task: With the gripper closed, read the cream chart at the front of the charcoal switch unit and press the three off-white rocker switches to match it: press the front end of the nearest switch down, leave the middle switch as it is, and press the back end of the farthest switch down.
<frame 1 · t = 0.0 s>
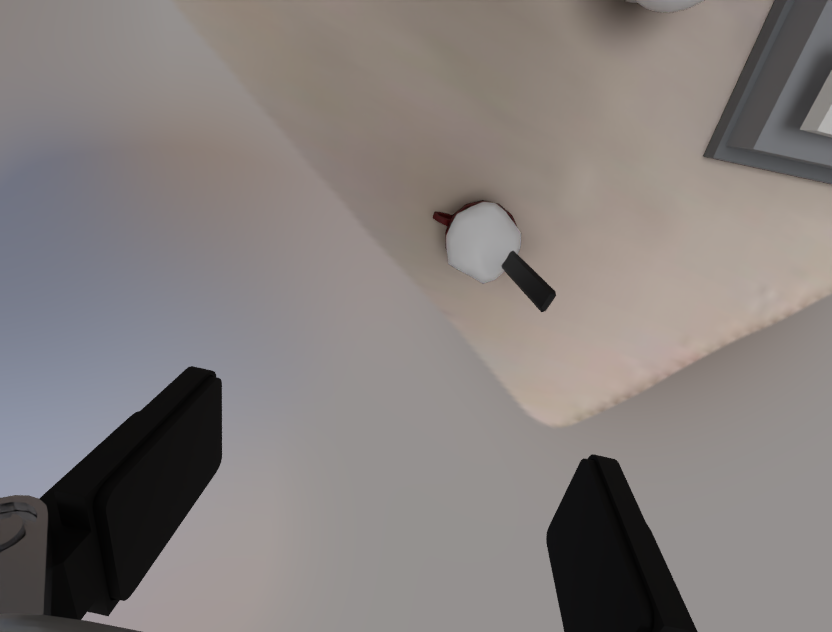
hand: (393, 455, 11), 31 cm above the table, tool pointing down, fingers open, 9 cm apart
cocoa: (481, 231, 40), on the table
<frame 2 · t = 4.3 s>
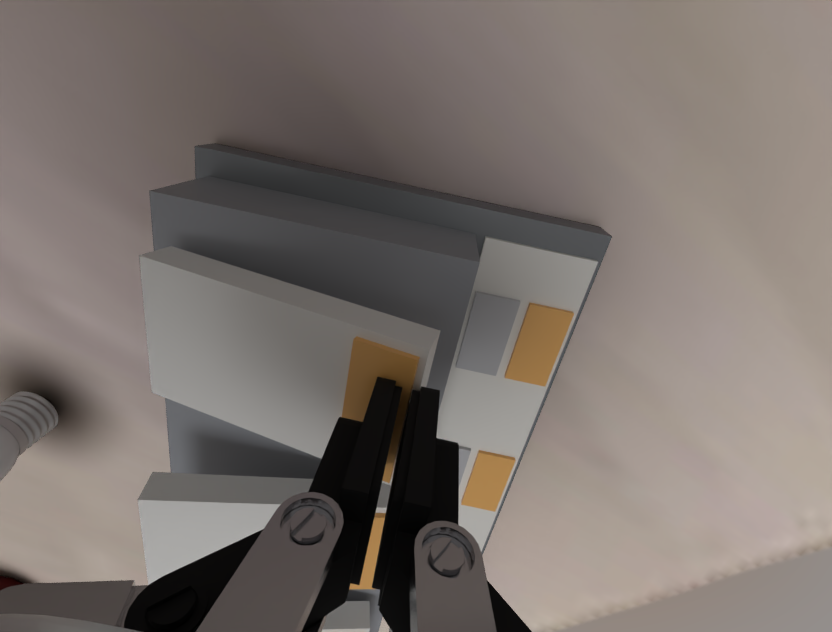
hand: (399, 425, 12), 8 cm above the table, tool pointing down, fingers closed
switch unit: (363, 430, 23), on the table
lightbulb: (47, 401, 24), on the table
switch a: (279, 366, 13), point 7 cm above the table, hinge at 11.7°, touching gripper
cocoa: (18, 590, 33), on the table
switch b: (275, 537, 17), point 7 cm above the table, hinge at -12.0°
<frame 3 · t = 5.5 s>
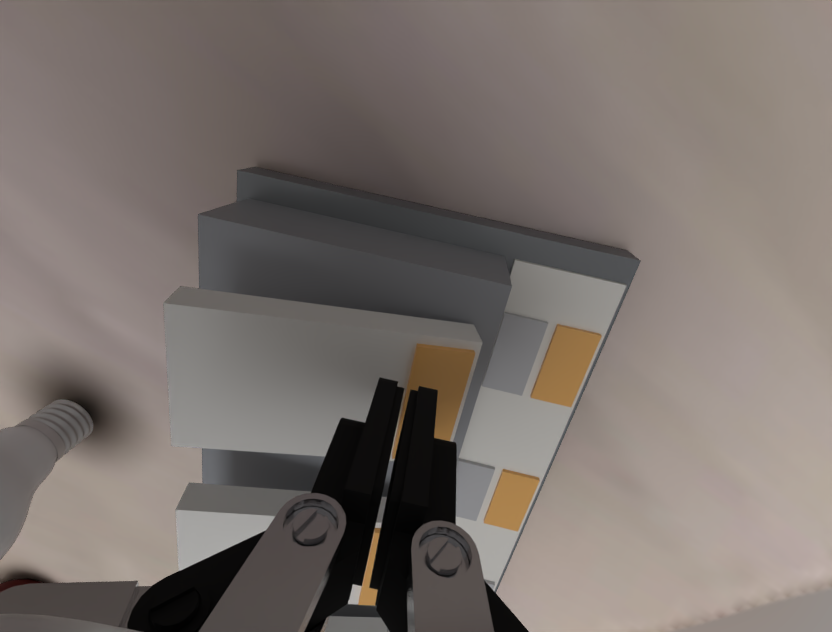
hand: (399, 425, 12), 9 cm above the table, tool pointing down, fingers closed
switch unit: (387, 445, 23), on the table
lightbulb: (83, 409, 25), on the table
switch a: (325, 385, 14), point 7 cm above the table, hinge at -13.5°
switch b: (303, 550, 17), point 7 cm above the table, hinge at -12.0°
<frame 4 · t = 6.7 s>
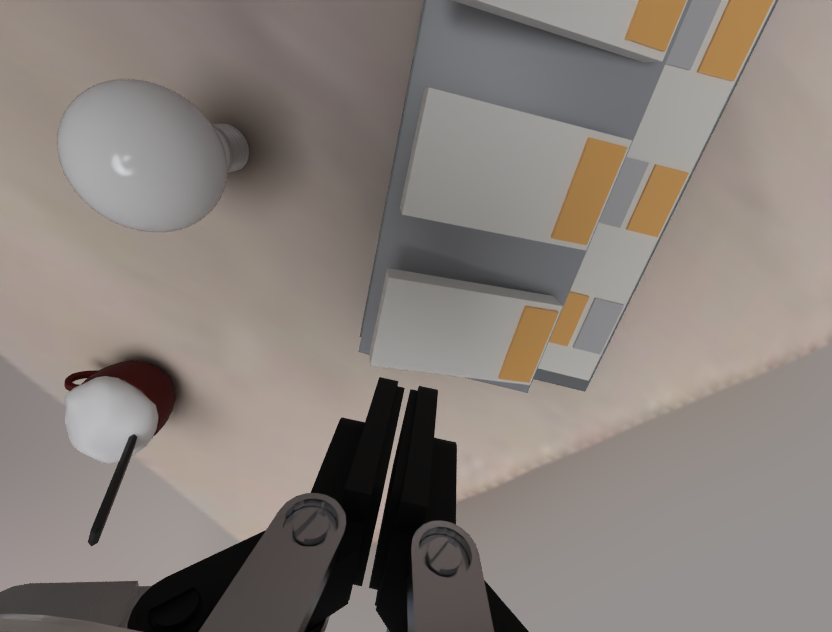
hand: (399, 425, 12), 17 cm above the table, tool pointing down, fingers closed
switch unit: (533, 168, 25), on the table
lightbulb: (234, 147, 26), on the table
cocoa: (154, 384, 35), on the table
switch b: (512, 175, 19), point 7 cm above the table, hinge at -12.0°
switch c: (463, 331, 22), point 7 cm above the table, hinge at -12.0°
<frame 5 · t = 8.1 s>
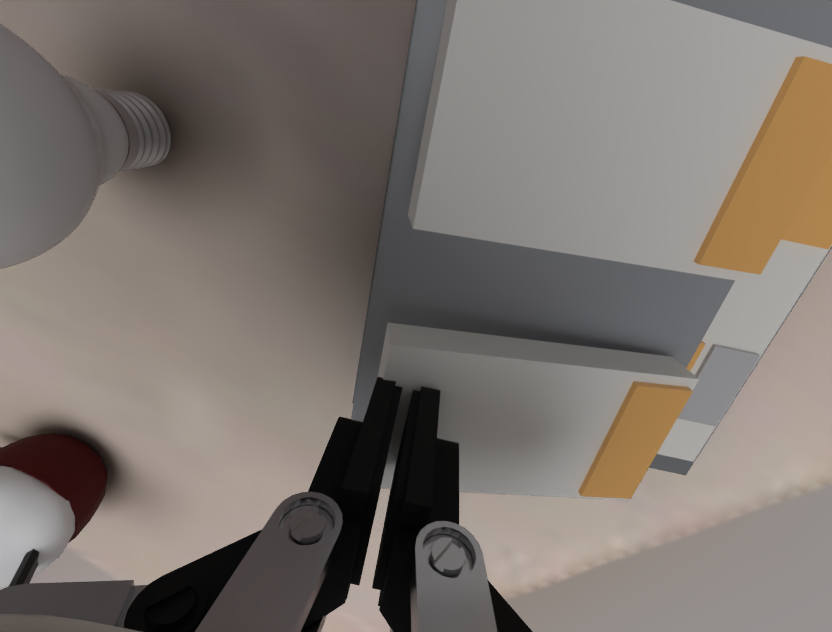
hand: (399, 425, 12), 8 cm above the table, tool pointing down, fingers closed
switch unit: (617, 145, 16), on the table
lightbulb: (151, 129, 17), on the table
cocoa: (81, 460, 26), on the table
switch b: (628, 145, 10), point 7 cm above the table, hinge at -12.0°
switch c: (521, 422, 13), point 7 cm above the table, hinge at -11.7°, touching gripper
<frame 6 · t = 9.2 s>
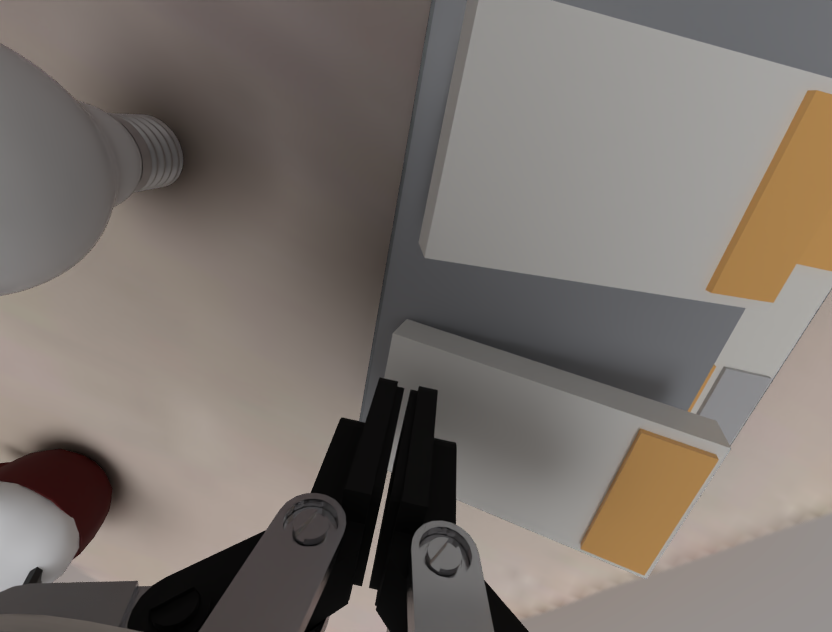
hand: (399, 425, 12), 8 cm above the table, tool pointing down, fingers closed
switch unit: (625, 168, 16), on the table
lightbulb: (164, 150, 18), on the table
cocoa: (86, 475, 26), on the table
switch b: (639, 175, 10), point 7 cm above the table, hinge at -12.0°
switch c: (521, 446, 13), point 7 cm above the table, hinge at 13.2°
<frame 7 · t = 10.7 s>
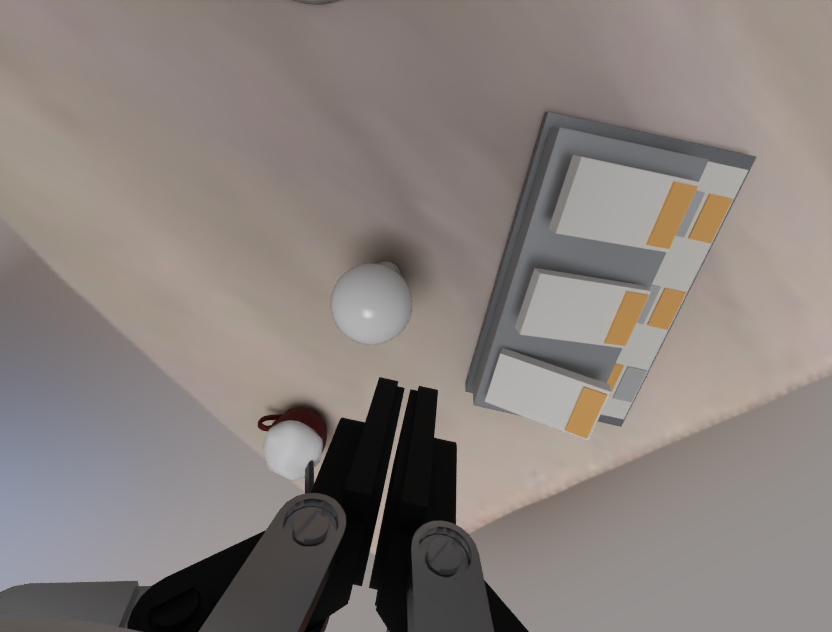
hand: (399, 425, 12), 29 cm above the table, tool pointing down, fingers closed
switch unit: (585, 285, 39), on the table
lightbulb: (388, 272, 41), on the table
switch a: (623, 206, 30), point 7 cm above the table, hinge at -14.3°
cocoa: (308, 423, 49), on the table
switch b: (582, 310, 33), point 7 cm above the table, hinge at -12.0°
switch c: (544, 394, 36), point 7 cm above the table, hinge at 15.0°
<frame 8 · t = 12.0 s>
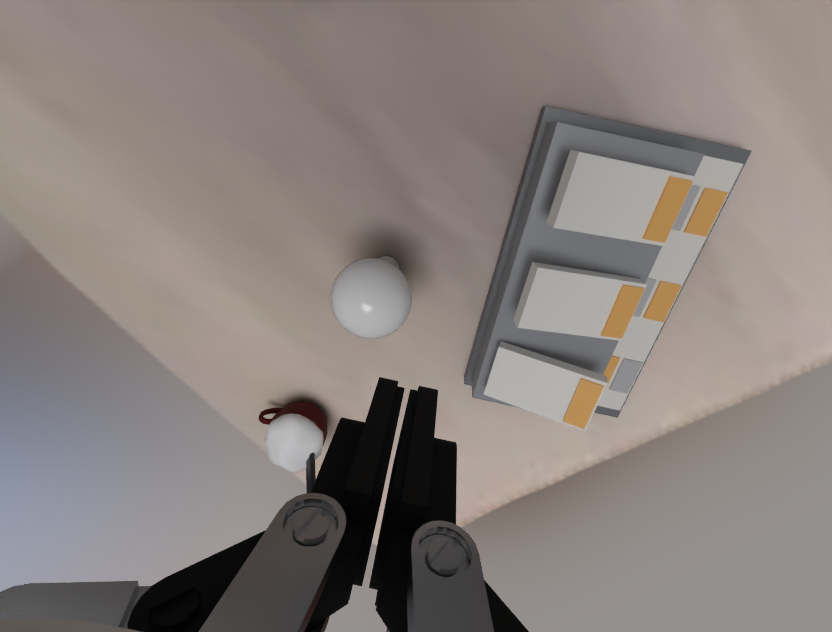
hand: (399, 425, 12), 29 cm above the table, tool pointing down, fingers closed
switch unit: (582, 278, 40), on the table
lightbulb: (387, 266, 41), on the table
switch a: (620, 200, 30), point 7 cm above the table, hinge at -14.2°
cocoa: (308, 416, 50), on the table
switch b: (579, 303, 33), point 7 cm above the table, hinge at -12.0°
switch c: (542, 386, 37), point 7 cm above the table, hinge at 13.9°
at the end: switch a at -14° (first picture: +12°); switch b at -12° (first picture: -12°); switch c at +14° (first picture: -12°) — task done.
